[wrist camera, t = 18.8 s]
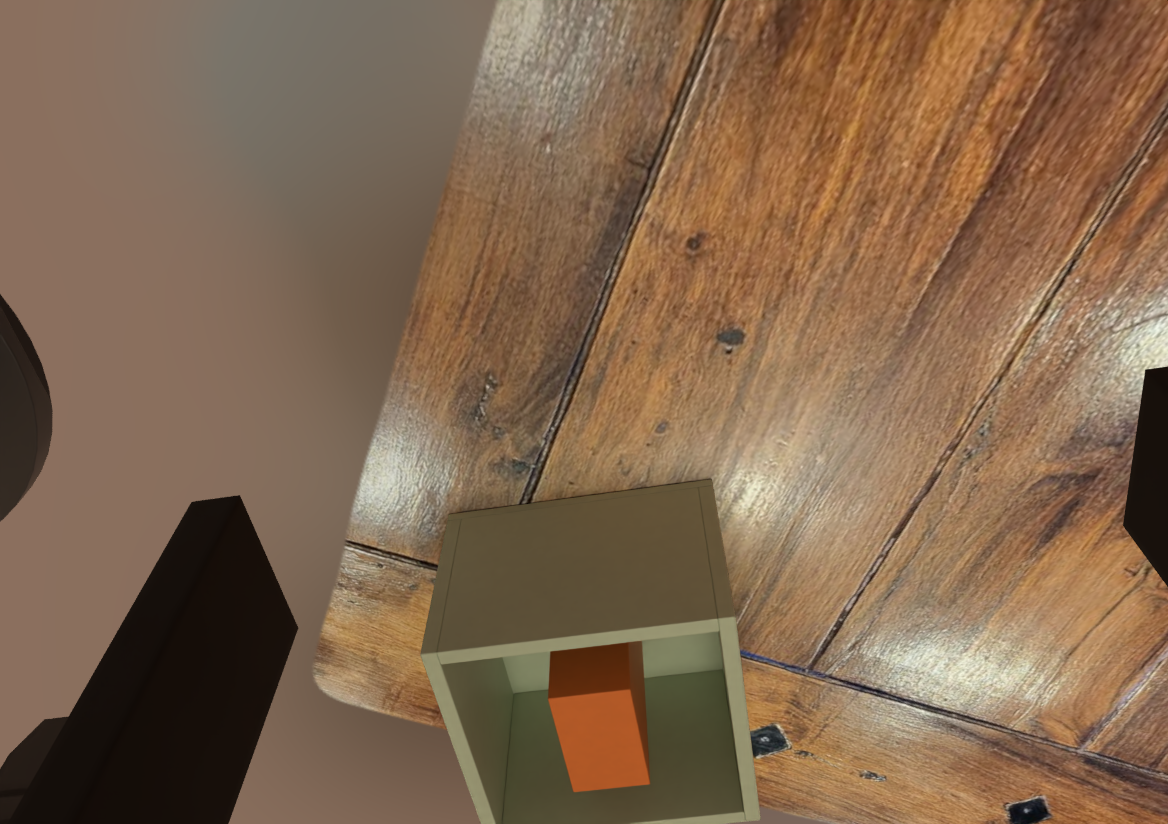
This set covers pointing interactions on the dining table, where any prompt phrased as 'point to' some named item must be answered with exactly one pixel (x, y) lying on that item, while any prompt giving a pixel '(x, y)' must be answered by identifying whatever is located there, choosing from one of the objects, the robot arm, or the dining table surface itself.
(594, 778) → the orange rectangular prism
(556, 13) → the dining table surface
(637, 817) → the open square bin
